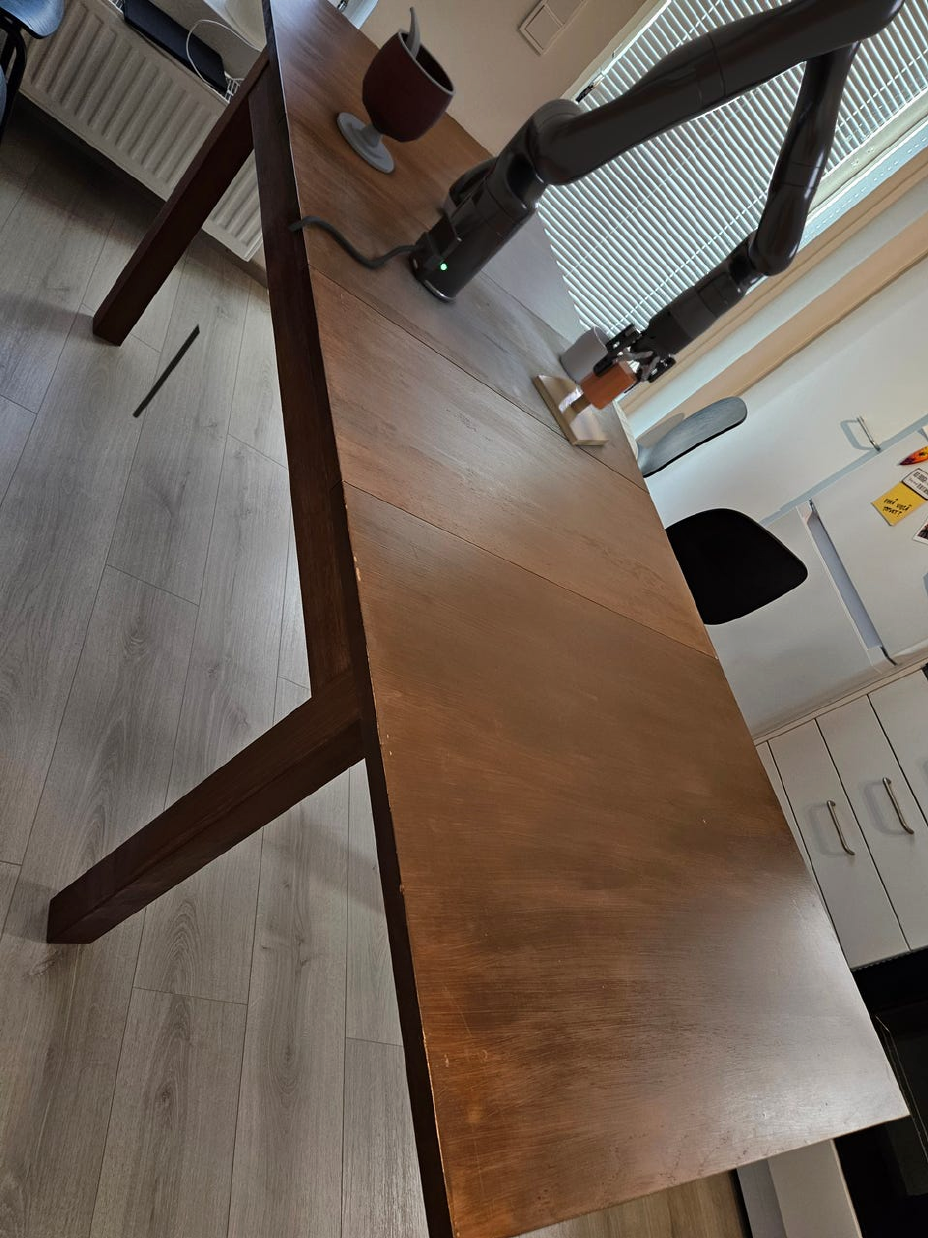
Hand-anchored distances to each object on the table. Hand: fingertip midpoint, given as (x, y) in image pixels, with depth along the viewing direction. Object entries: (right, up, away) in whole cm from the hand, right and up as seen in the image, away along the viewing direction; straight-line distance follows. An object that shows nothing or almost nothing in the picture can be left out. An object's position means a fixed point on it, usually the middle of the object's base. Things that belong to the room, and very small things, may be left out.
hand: (608, 381), depth 143 cm
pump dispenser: (-28, +35, +13) cm, 46 cm away
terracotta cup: (-3, -2, +2) cm, 4 cm away
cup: (-4, +9, +20) cm, 22 cm away
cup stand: (-6, -4, +5) cm, 9 cm away
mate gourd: (-44, +43, -1) cm, 62 cm away
